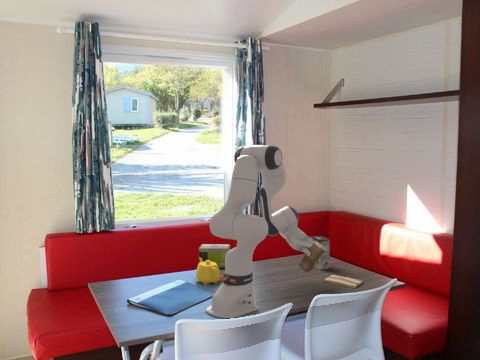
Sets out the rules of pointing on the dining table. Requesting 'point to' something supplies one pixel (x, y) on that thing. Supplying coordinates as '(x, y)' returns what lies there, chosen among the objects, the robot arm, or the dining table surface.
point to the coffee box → (324, 259)
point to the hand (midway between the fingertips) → (314, 256)
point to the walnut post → (312, 257)
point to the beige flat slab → (343, 281)
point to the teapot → (207, 272)
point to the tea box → (215, 254)
